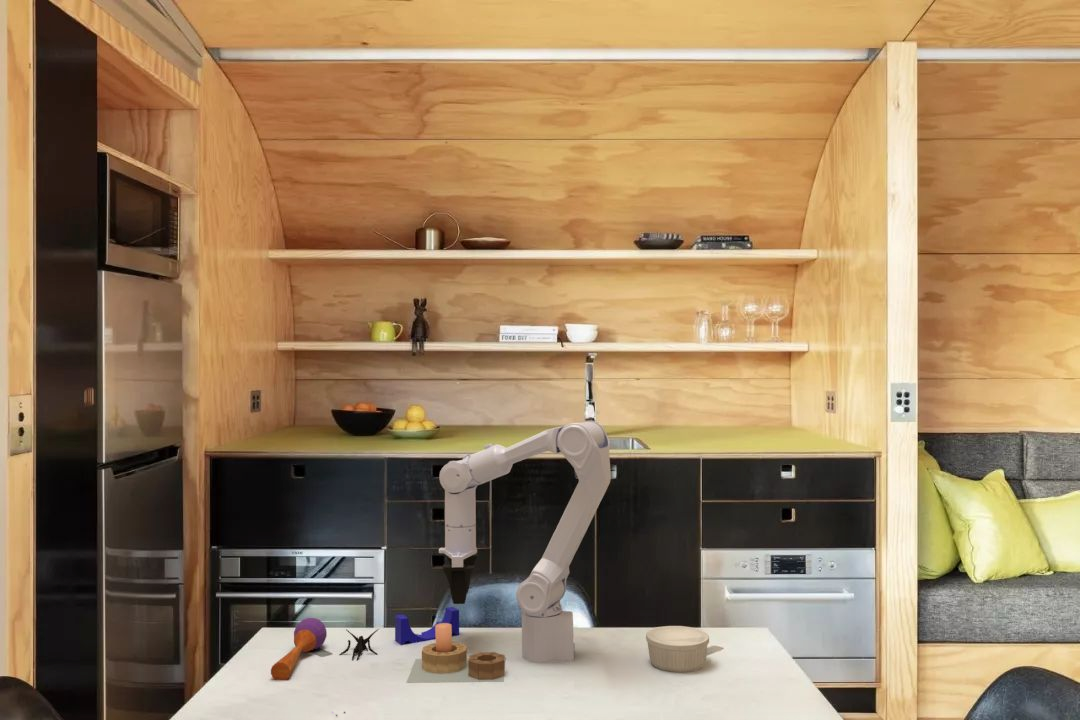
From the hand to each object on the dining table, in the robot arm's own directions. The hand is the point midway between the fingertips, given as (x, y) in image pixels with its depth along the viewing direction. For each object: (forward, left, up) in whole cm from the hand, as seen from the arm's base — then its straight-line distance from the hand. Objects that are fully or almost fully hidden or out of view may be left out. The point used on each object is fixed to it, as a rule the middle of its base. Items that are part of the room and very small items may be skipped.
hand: (460, 598), depth 163 cm
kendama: (+29, +4, -10) cm, 31 cm away
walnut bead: (-5, +15, -9) cm, 18 cm away
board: (0, +13, -10) cm, 16 cm away
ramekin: (-39, +8, -10) cm, 41 cm away
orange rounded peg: (+2, +11, -9) cm, 14 cm away
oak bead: (+2, +11, -9) cm, 14 cm away
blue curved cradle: (+7, -6, -10) cm, 14 cm away
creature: (+18, +4, -10) cm, 21 cm away
